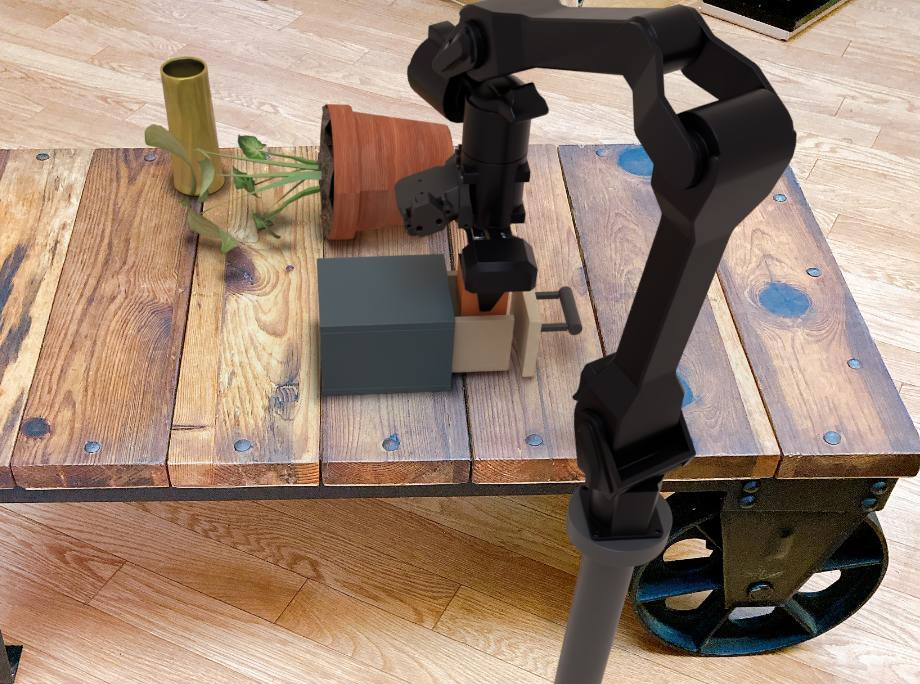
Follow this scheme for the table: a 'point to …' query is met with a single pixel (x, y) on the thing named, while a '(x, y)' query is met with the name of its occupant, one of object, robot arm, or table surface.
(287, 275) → the table surface
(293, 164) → the potted plant
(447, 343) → the cabinet
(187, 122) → the vase
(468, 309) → the block
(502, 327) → the drawer
